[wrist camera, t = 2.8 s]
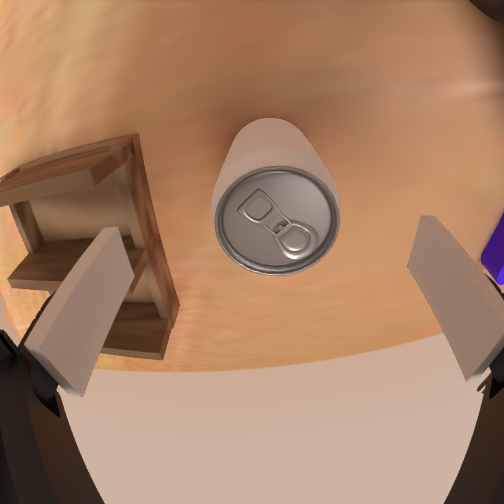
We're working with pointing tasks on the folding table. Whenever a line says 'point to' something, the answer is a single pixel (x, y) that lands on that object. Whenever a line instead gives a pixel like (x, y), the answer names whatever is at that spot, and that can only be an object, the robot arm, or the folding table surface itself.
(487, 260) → the bracket
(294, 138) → the can
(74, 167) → the rack
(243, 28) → the folding table surface
